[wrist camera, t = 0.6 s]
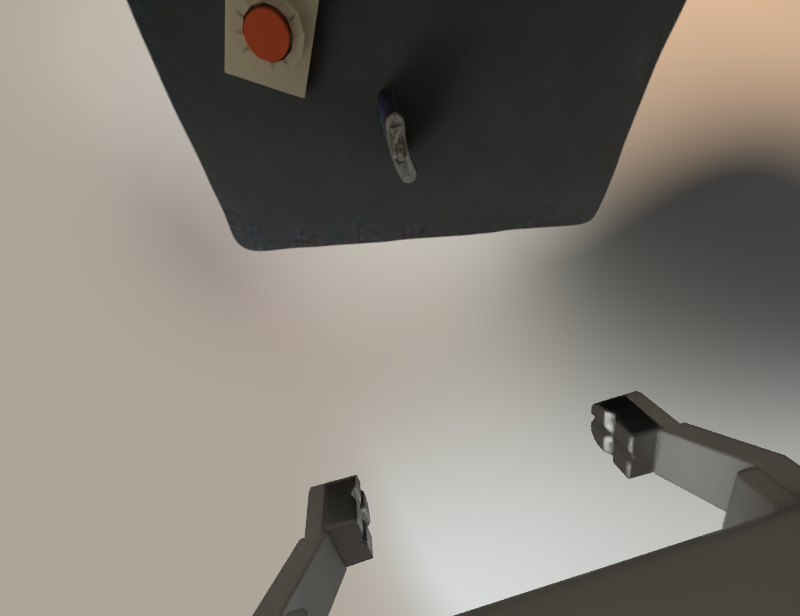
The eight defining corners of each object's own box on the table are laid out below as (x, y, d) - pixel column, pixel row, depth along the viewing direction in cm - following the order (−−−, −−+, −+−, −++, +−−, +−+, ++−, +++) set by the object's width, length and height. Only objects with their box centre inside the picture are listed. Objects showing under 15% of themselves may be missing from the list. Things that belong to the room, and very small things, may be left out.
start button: (247, -2, 35) (244, 0, 34) (292, 16, 37) (291, 19, 36) (245, 49, 38) (242, 52, 37) (287, 64, 40) (286, 68, 38)
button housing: (231, -58, 35) (221, -58, 32) (321, -18, 38) (320, -14, 35) (229, 67, 42) (221, 76, 39) (305, 92, 45) (303, 103, 42)
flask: (409, 153, 53) (422, 187, 45) (391, 159, 53) (400, 194, 46) (392, 85, 46) (403, 112, 39) (371, 93, 46) (378, 121, 39)
